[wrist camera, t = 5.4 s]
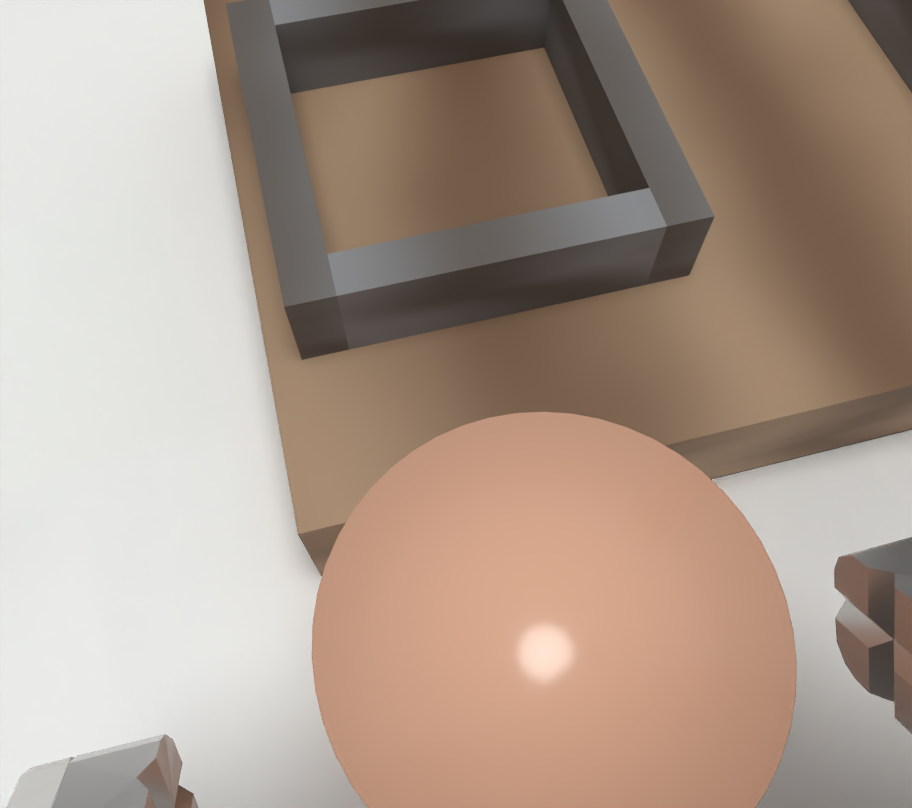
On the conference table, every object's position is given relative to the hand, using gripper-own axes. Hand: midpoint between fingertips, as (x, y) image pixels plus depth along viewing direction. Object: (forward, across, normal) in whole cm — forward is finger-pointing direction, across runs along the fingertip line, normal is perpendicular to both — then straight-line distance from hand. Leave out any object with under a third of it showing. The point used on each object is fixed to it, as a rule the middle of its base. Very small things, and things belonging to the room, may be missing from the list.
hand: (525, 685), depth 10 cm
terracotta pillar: (+6, 0, +5) cm, 8 cm away
